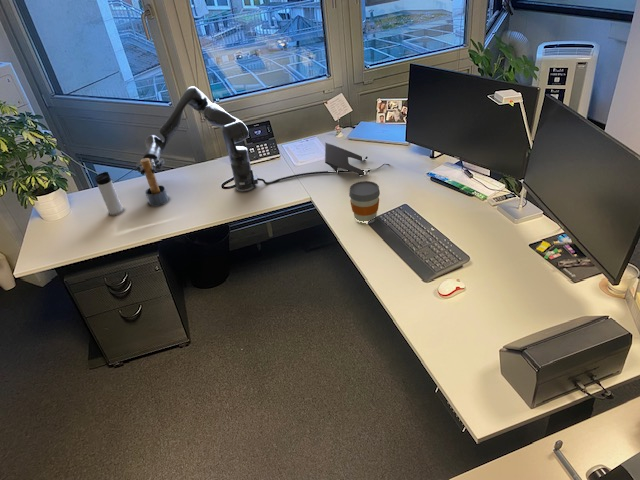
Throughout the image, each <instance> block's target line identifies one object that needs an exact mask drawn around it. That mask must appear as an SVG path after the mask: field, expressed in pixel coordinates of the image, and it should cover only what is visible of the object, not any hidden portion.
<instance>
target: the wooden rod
mask: <svg viewBox="0 0 640 480" xmlns="http://www.w3.org/2000/svg"><path fill="white" fill-rule="evenodd" d="M140 164H142V167H143V170H144V176H145V178H146V181H147V184H148V187H149V188H150V190H151V193H152V194H157V193H159V192H160V189H159V186H160V185H159V184H158V181H157V178H156V174H155V172H154V173H152V171H151V168H152V165H151V162H150V160H149V158H144V159H143V158H141V160H140Z"/></svg>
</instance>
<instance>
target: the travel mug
mask: <svg viewBox="0 0 640 480" xmlns="http://www.w3.org/2000/svg"><path fill="white" fill-rule="evenodd" d="M94 177H95V182H96V185H97V187H98V189H99V193H100V194H101V197H102V199H103V201H104V204H105V206H106V209H107V211H108V213H109V215H110V216H117V215H119V214H121V213H122V212H123V211H124V209H123V206H122V203H121V201H120V198H119V195H118V193H117V191H116V188H115V186H114V183H113V181H112V179H111V176H110V174H109V171H104V172H101V173H99V174H97V175H96V176H94Z"/></svg>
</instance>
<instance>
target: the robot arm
mask: <svg viewBox="0 0 640 480" xmlns="http://www.w3.org/2000/svg"><path fill="white" fill-rule="evenodd" d="M187 106H189V107H191V108H192V109H193V110H195V111H197V112H198V113H200V114H202V115H203V117H204V119H205V120H206V122H208V123H210V124H211V125H212V126H214V127H216V128H221V132H222V137H223V141H224V145H225V149H226V152H227V155H228V158H229V163H230V167H231V172H232V177H233V181H234V184H235V190H236V191H237V192H243V193H244V192H249V191H252V190H253V189H256V185H258V184H259V181H261V182H263V184H265V185H271V184H275V183H277V182H280V181H283V180H287V179H293V178H296V177H301V176H302V177H303V176H309V175H319V174H337V173H336V172H328V171H329V170H323V171H311V172H304V173H297V174H292V175H288V176H284V177H280V178H277V179H275V180H272V181H269V182H268V181H266V180H265V179H264V178H260V177H258V174H254V172H253V171H254V170H253V169H252V166H251V160H250V155H249V150H248V148H247V147H245V146H243V145H242V146H240V145H236V144H237V143H241V142H244V141H245V140H247V139H248V138H249V136H250V135H249V133H250V132H249V129H248V127H247V126H246V124H245V123H244V122H243V121H242V120H240V119H239V118H237V117H235V116H233V115H231V114H230V113H228V112H227V111H225V109H224V108H222V107H221V106H220V105H218V104H217V103H214V102H211V100H210V99H209V98H208V97H207V95H205V94H204V93H203V92H202V91H201V90H200V89H198V88H197V87H196V86H195V85H194V86H189V87H188V88H187V89H185V91H184V92H183V93H182V95H181V97H180V98H179V100H178V102H177V103H176V105H175V107H174V108H173V110H172V112H171V113H170V115H169V116H168V118H167V119H166V120H165V121H164V123H163V124H162V125H161V126H160V127H159V129H158V132H159V134H160V135H161V137H162V138H163V140H162V139H161V138H160V137H158V136H157V135H155V134H150V135H148V136H146V138H145V141H144V146H145V151H144V153H143V157H142V159H144V158H149V160H150V162H151V165H152V168H151V171H152V173H154V174H155V173H156V171H157V170H160V169H162V168H163V166H165V160H164V158H161V154H163V153H164V152H165V151H166V150H167V147H168V144H169V142H170V140H171V138H172V137H173V136H174V135H175V133H176V132H177V131H178V130H179V128H180V126H181V123H182V118H183V113H184V110H185V109H186V107H187ZM134 165H135V168H136V170H137V172H138V173H140V175H142V176H145V173H144V170H143V167H142V164H141V163H138V162H135V163H134ZM363 171H364V170H363ZM338 173H339V174H341V173H352V172H351V171H343V170H338Z"/></svg>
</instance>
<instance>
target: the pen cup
mask: <svg viewBox="0 0 640 480" xmlns="http://www.w3.org/2000/svg"><path fill="white" fill-rule="evenodd" d="M158 186H159V189H160V192H159V193H157V194H152V193H151V190H150V187H149V188H146V190H145V193H144V194H145V196H146V198H147V202H148V204H149V205H150V206H152V207H159V206H161V205H164V204H166V203H167V202H168V201H169V195H168V192H167V190H166V187H165V186H164V185H158Z"/></svg>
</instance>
